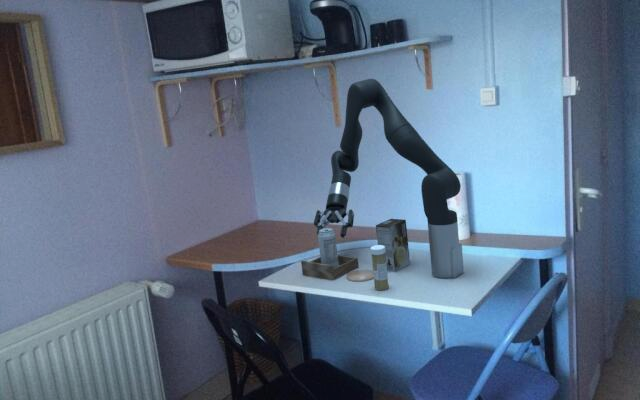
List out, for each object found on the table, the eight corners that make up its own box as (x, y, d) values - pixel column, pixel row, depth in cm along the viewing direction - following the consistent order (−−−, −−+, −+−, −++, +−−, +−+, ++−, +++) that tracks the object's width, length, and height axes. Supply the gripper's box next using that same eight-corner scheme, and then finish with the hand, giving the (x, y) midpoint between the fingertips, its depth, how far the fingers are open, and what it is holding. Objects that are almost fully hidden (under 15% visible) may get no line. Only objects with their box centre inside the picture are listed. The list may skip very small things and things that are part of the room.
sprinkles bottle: (373, 286, 175) (368, 245, 172) (387, 284, 175) (383, 243, 172) (376, 291, 170) (371, 249, 168) (390, 289, 171) (386, 247, 168)
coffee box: (395, 262, 196) (391, 218, 193) (410, 264, 191) (406, 219, 188) (379, 270, 189) (375, 224, 186) (395, 272, 185) (390, 226, 182)
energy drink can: (335, 267, 198) (330, 226, 195) (342, 271, 193) (337, 229, 190) (319, 270, 196) (314, 229, 193) (326, 275, 191) (320, 233, 188)
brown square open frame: (358, 267, 195) (357, 253, 194) (333, 280, 185) (331, 266, 184) (328, 262, 204) (327, 249, 203) (302, 274, 194) (301, 261, 193)
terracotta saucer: (382, 273, 186) (382, 271, 185) (364, 283, 178) (364, 281, 178) (358, 269, 192) (358, 268, 192) (340, 279, 185) (340, 277, 185)
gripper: (316, 193, 203) (308, 231, 195) (353, 191, 198) (346, 231, 190) (323, 203, 209) (315, 241, 201) (359, 202, 204) (353, 241, 196)
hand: (330, 236), depth 195 cm, fingers open, 8 cm apart
